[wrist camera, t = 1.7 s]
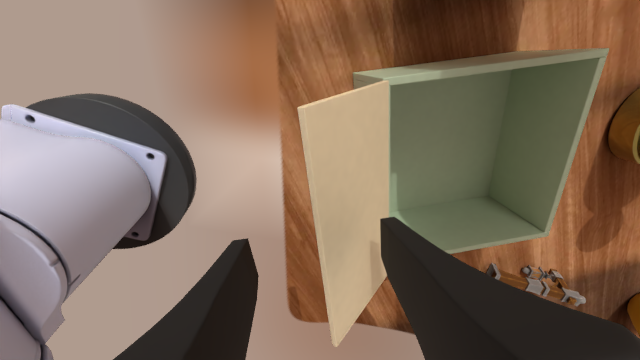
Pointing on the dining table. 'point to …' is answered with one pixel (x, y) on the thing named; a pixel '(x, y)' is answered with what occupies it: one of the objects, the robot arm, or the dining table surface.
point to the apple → (635, 311)
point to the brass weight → (626, 130)
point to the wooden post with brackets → (536, 286)
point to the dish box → (485, 142)
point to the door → (348, 195)
